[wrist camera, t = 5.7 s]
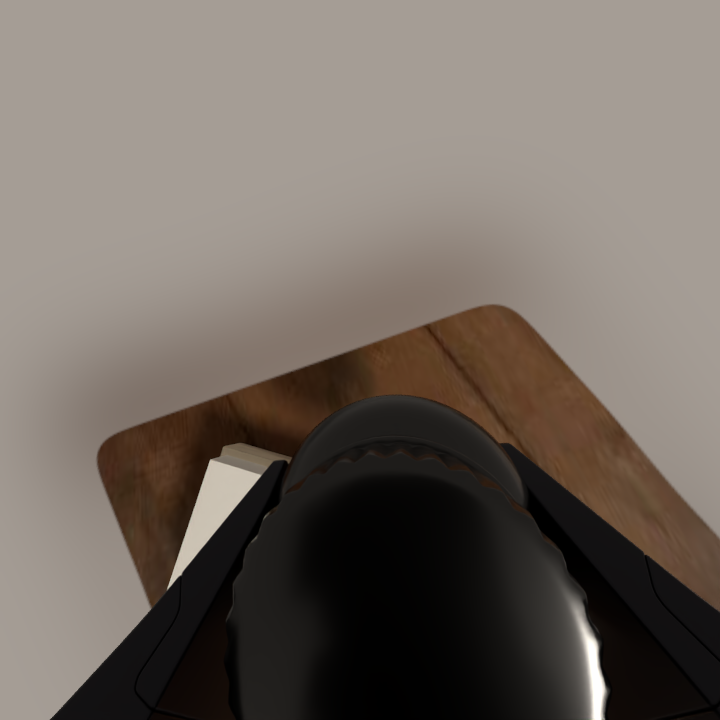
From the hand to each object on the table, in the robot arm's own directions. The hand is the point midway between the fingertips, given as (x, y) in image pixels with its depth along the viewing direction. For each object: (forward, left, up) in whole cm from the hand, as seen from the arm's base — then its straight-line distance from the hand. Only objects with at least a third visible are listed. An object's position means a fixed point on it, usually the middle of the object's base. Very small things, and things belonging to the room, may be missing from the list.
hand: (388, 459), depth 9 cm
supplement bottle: (-1, -1, -7) cm, 7 cm away
